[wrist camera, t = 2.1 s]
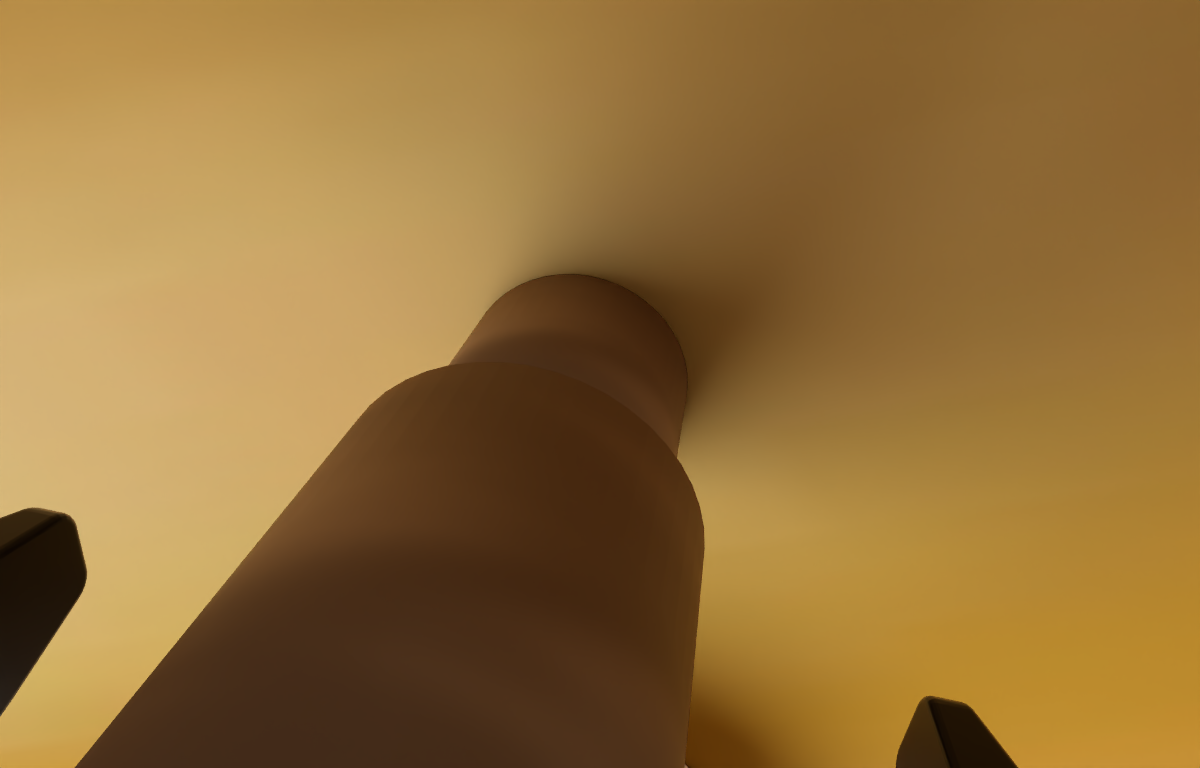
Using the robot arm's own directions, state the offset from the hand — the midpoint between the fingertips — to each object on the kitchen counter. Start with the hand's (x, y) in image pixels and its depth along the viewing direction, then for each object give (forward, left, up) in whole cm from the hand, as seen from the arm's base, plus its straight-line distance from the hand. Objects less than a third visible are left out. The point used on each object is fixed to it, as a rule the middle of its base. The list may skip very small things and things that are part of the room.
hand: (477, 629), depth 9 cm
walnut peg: (0, 0, -6) cm, 6 cm away
